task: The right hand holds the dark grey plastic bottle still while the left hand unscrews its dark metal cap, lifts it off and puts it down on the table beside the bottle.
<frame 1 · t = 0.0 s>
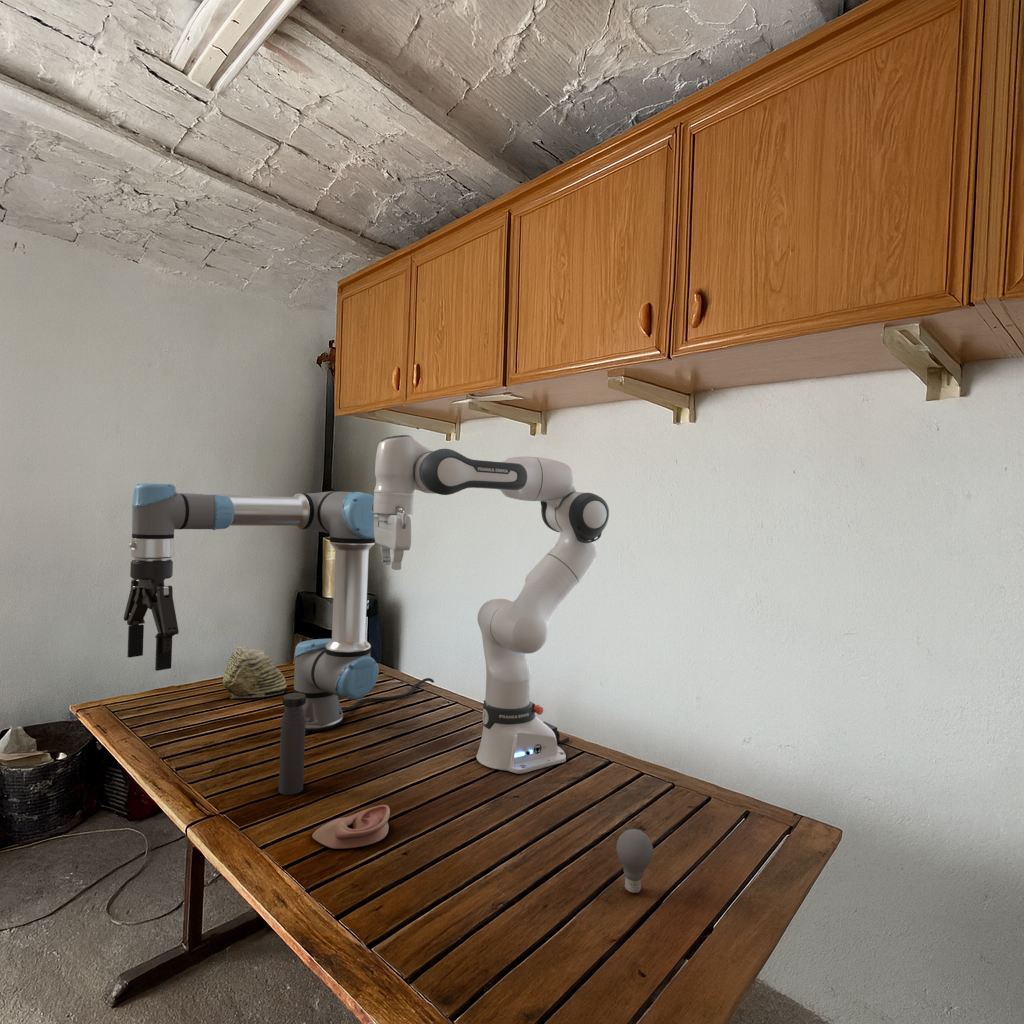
left hand: (148, 662, 129), 28 cm above the table, tool pointing down, fingers open, 13 cm apart
right hand: (390, 567, 144), 48 cm above the table, tool pointing down, fingers open, 8 cm apart
fossil: (254, 694, 198), on the table
anatomical model: (351, 834, 120), on the table
cap: (294, 697, 136), point 20 cm above the table, screwed on, not yet turned
light bulb: (632, 891, 106), on the table
bottle: (290, 789, 136), on the table
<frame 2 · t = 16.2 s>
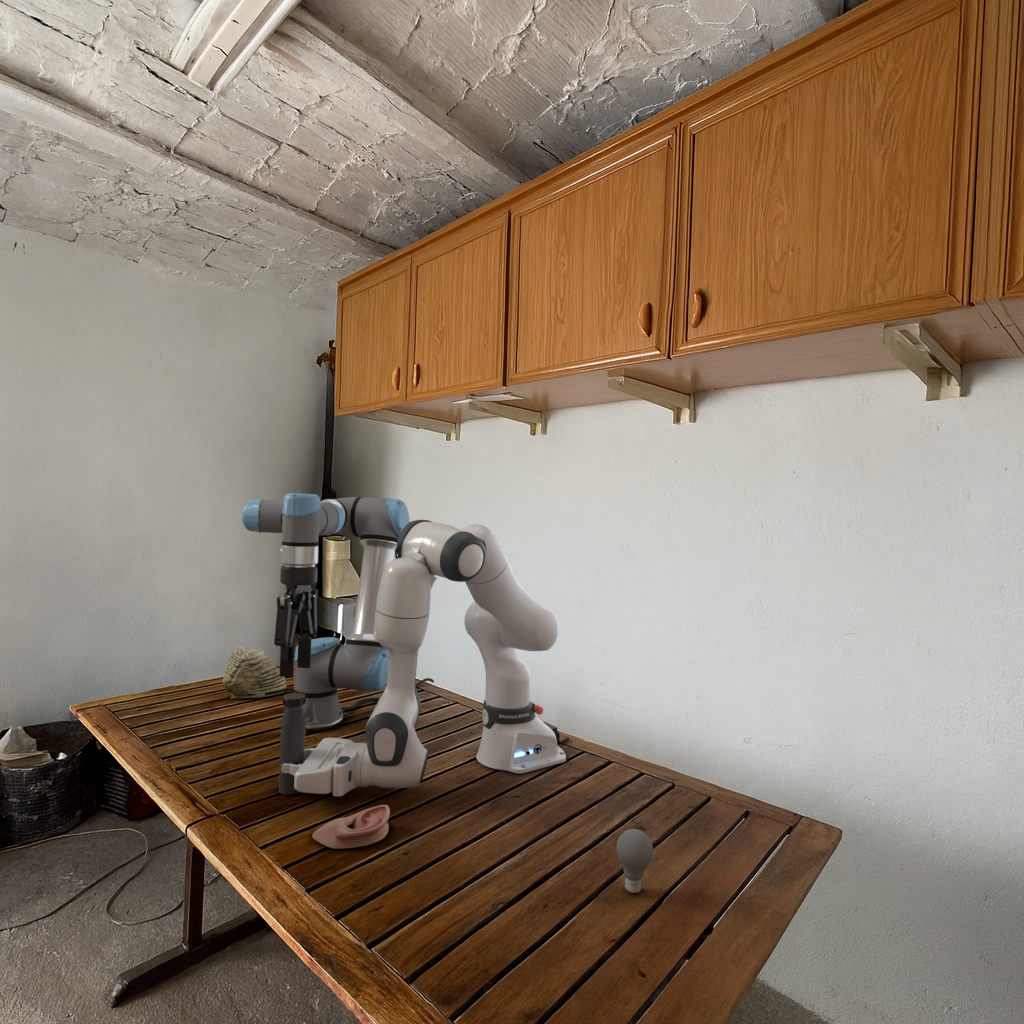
left hand: (295, 671, 136), 26 cm above the table, tool pointing down, fingers open, 7 cm apart
right hand: (287, 761, 136), 6 cm above the table, tool horizontal, fingers closed on bottle, 5 cm apart
bottle: (290, 789, 137), on the table, touching right hand
everything else where it was.
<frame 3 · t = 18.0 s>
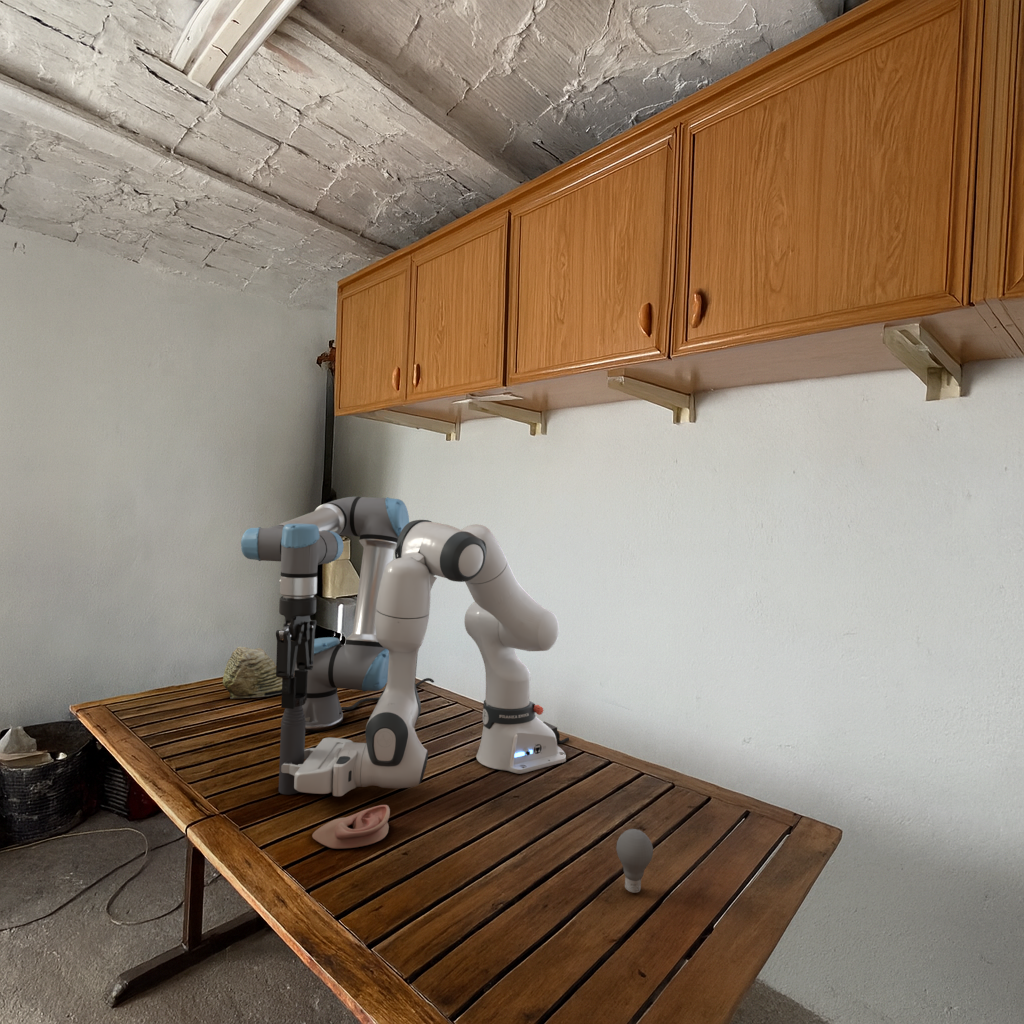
left hand: (294, 703, 136), 19 cm above the table, tool pointing down, fingers closed on cap, 4 cm apart
right hand: (287, 761, 136), 6 cm above the table, tool horizontal, fingers closed on bottle, 5 cm apart
cap: (294, 697, 136), point 20 cm above the table, screwed on, not yet turned, touching left hand
bottle: (290, 789, 137), on the table, touching right hand
everything else where it was.
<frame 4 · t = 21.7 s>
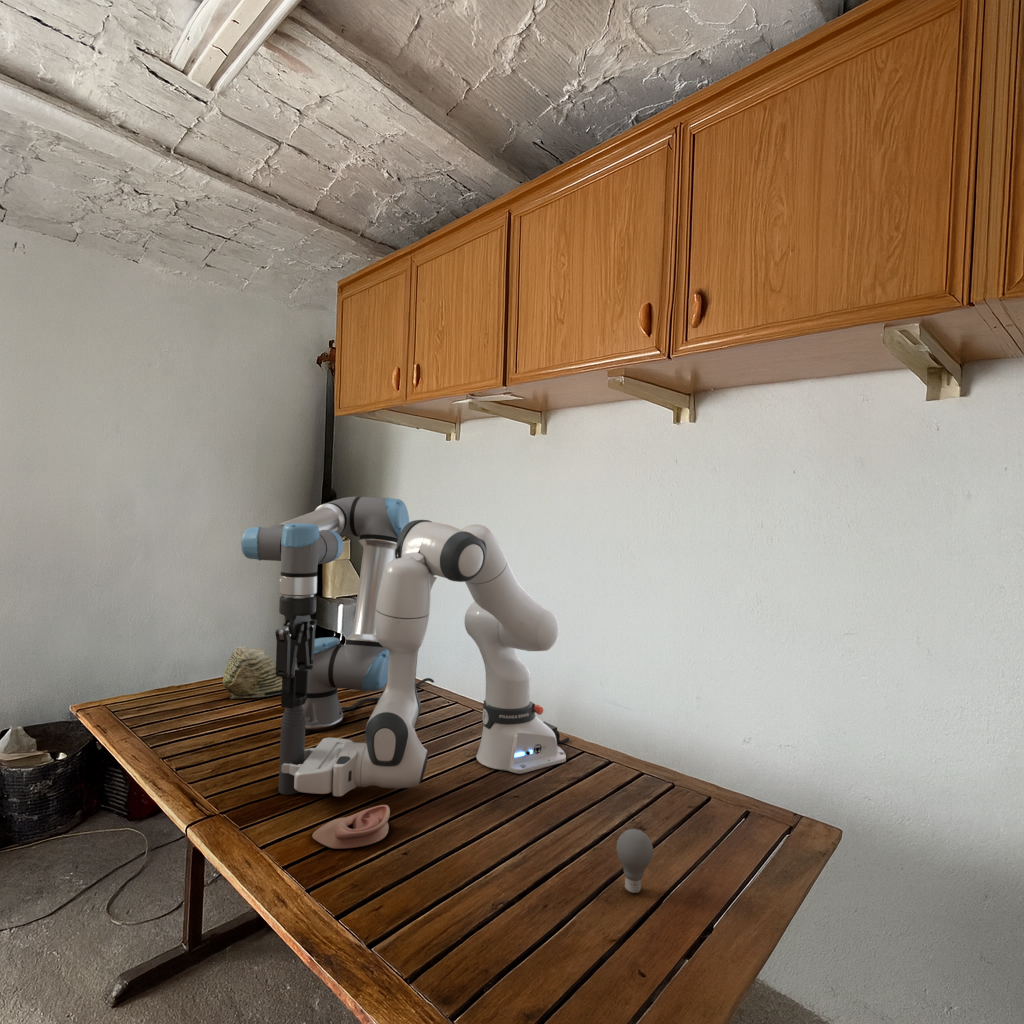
left hand: (294, 703, 136), 19 cm above the table, tool pointing down, fingers closed on cap, 4 cm apart
right hand: (287, 761, 136), 6 cm above the table, tool horizontal, fingers closed on bottle, 5 cm apart
cap: (294, 696, 136), point 20 cm above the table, turned 130° so far, risen 0.1 cm, still on its thread, touching left hand
bottle: (290, 789, 137), on the table, touching right hand
everything else where it was.
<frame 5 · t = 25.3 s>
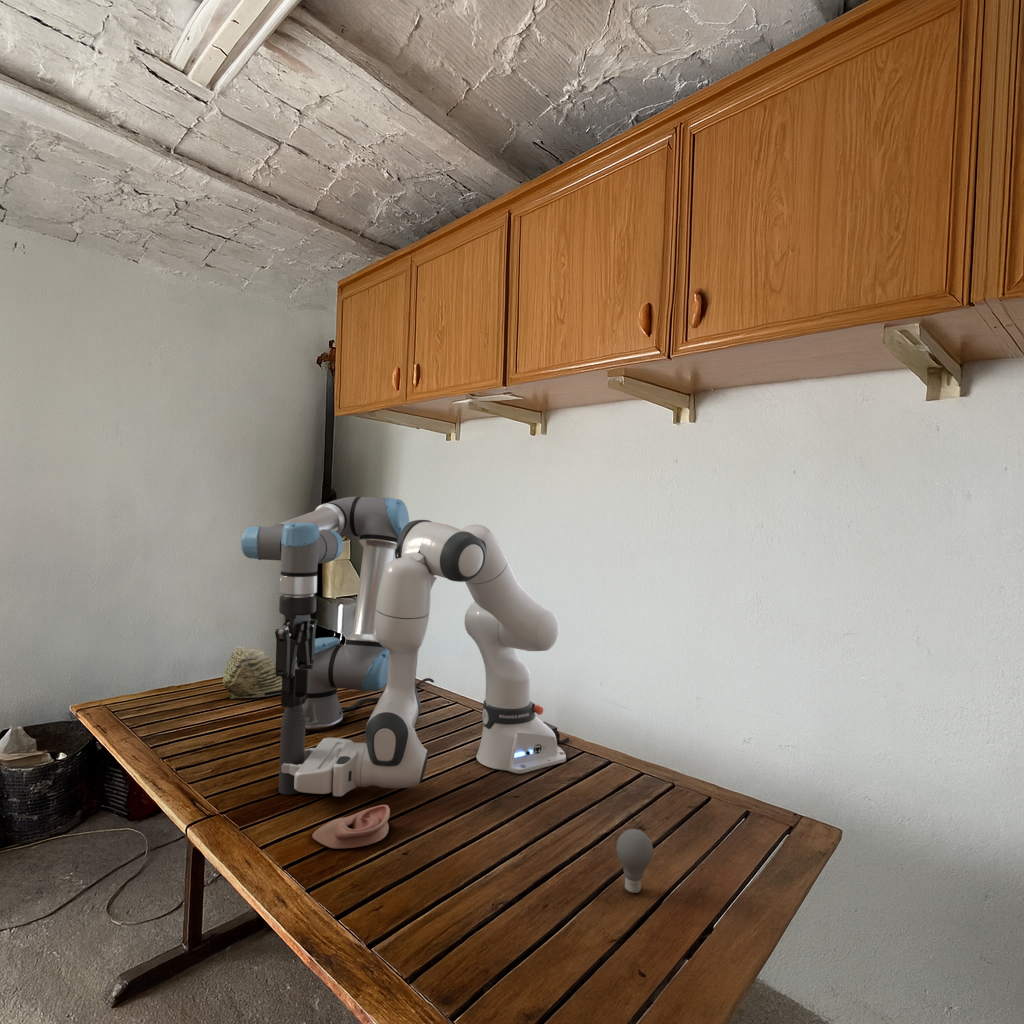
left hand: (294, 702, 136), 19 cm above the table, tool pointing down, fingers closed on cap, 4 cm apart
right hand: (287, 761, 136), 6 cm above the table, tool horizontal, fingers closed on bottle, 5 cm apart
cap: (294, 696, 136), point 20 cm above the table, turned 260° so far, risen 0.2 cm, still on its thread, touching left hand
bottle: (290, 789, 137), on the table, touching right hand
everything else where it was.
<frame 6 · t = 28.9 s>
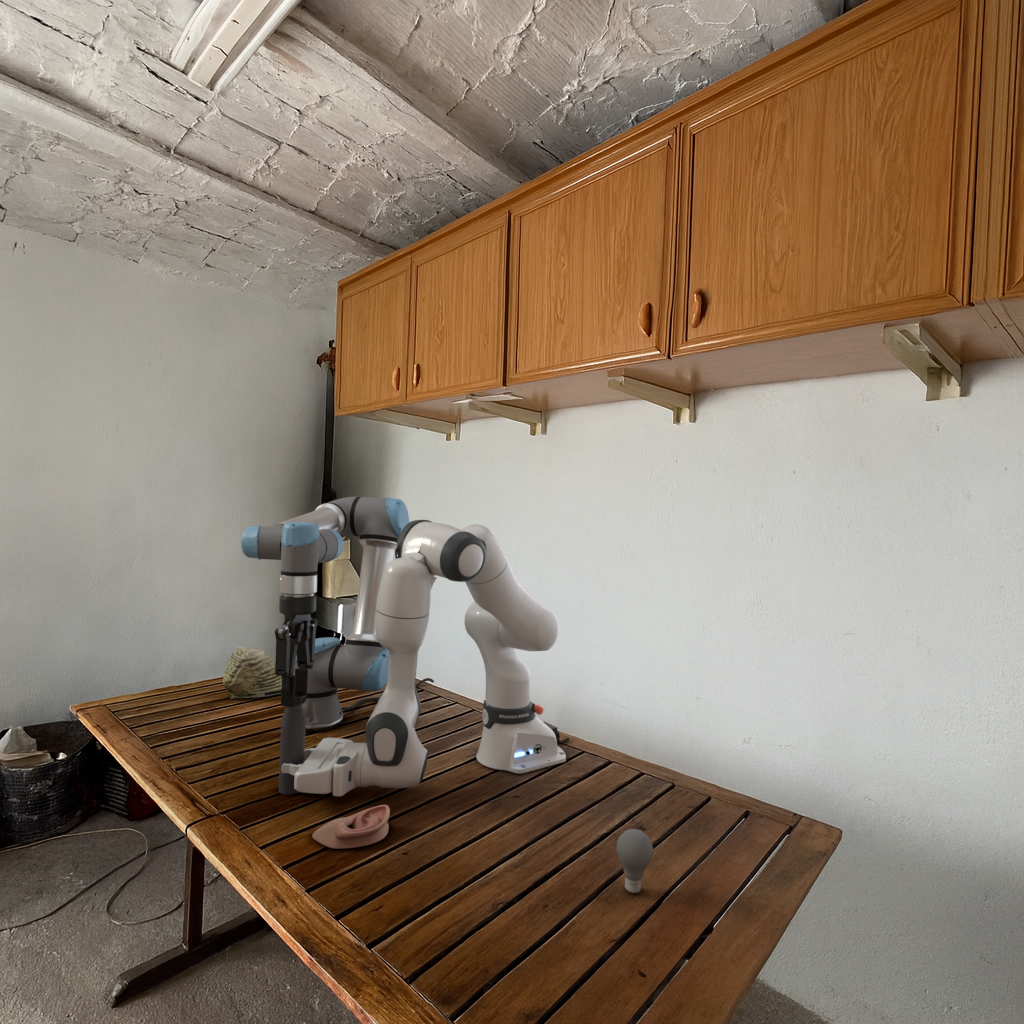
left hand: (294, 702, 136), 19 cm above the table, tool pointing down, fingers closed on cap, 4 cm apart
right hand: (287, 761, 136), 6 cm above the table, tool horizontal, fingers closed on bottle, 5 cm apart
cap: (294, 695, 136), point 20 cm above the table, turned 390° so far, risen 0.3 cm, still on its thread, touching left hand
bottle: (290, 789, 137), on the table, touching right hand
everything else where it was.
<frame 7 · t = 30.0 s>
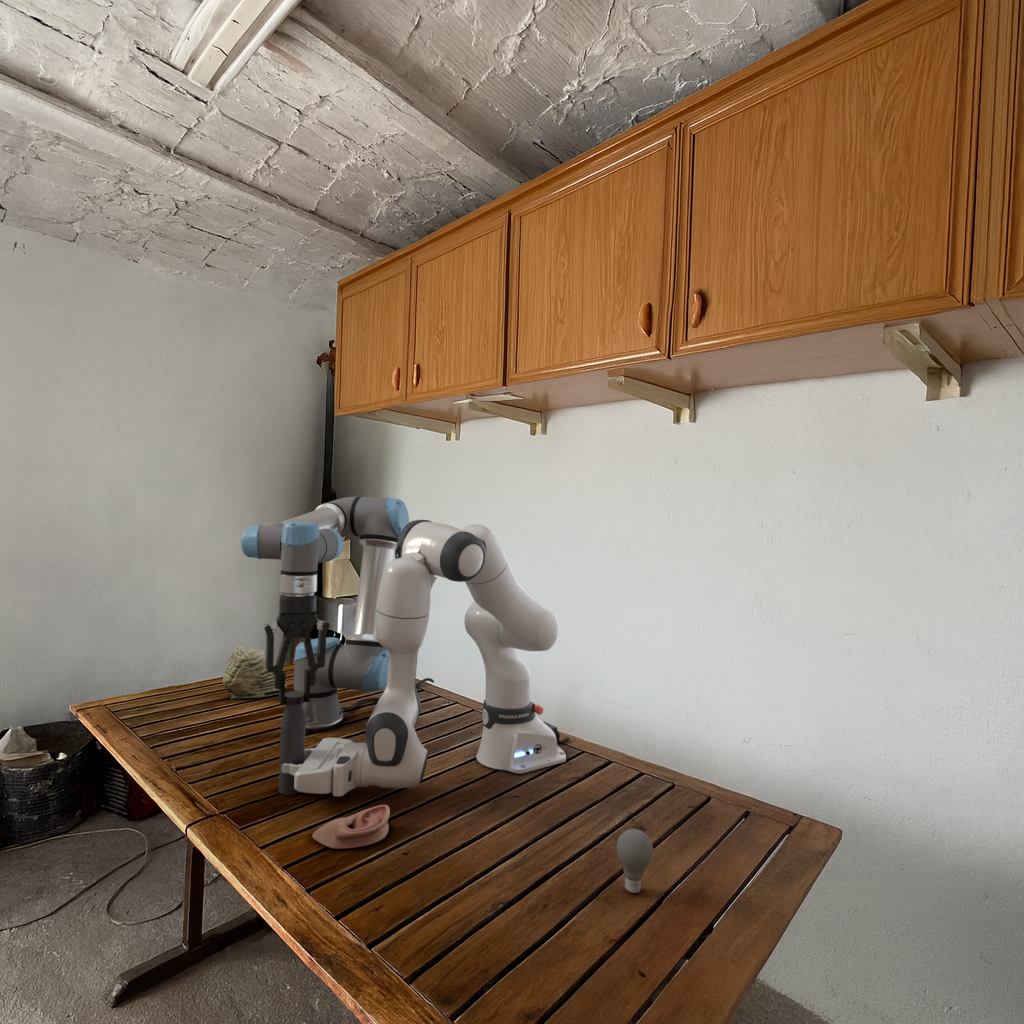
left hand: (294, 701, 136), 19 cm above the table, tool pointing down, fingers closed on cap, 4 cm apart
right hand: (287, 761, 136), 6 cm above the table, tool horizontal, fingers closed on bottle, 5 cm apart
cap: (294, 695, 136), point 20 cm above the table, off its thread, touching left hand
bottle: (290, 789, 137), on the table, touching right hand
everything else where it was.
when the left hand's fingers open (1 cm above the table, at t = 35.7 s): cap drops 1 cm, point 1 cm above the table.
when the right hand's fingers open (6 cm above the table, at t = 37.0 s): bottle stays where it is, on the table.
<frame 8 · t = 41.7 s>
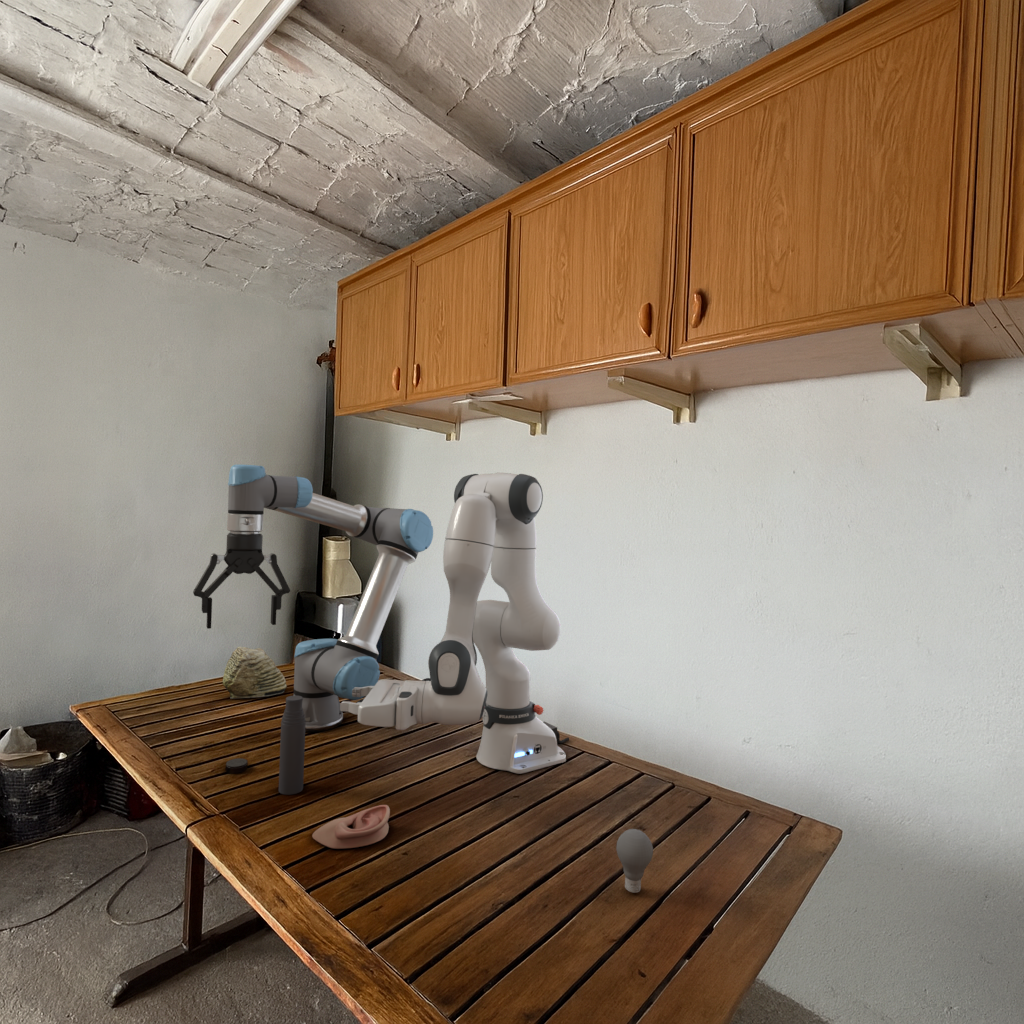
left hand: (241, 625, 144), 33 cm above the table, tool pointing down, fingers open, 13 cm apart
right hand: (347, 698, 136), 20 cm above the table, tool horizontal, fingers open, 8 cm apart
cap: (236, 763, 145), point 1 cm above the table, off its thread
bottle: (290, 789, 137), on the table
everything else where it was.
at the end: cap came off its thread; cap point 1.3 cm above the table; the left hand is holding nothing; the right hand is holding nothing; bottle tilted 0°; bottle moved 0.0 cm from its start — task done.
